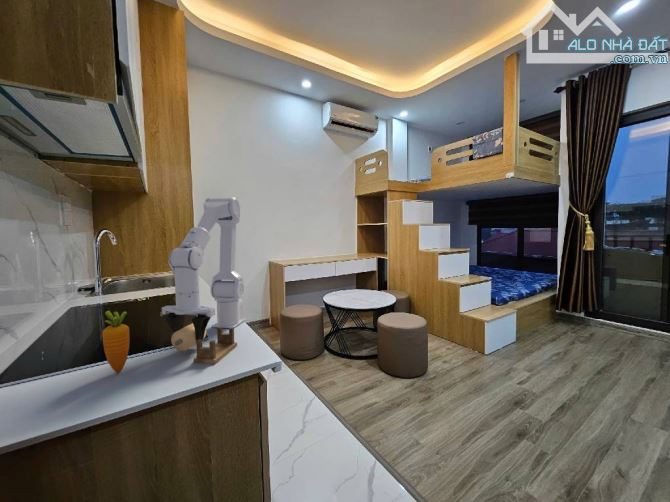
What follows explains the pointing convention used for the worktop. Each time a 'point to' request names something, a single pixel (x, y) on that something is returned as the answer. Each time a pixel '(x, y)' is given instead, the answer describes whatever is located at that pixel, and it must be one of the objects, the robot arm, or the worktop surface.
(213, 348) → the roll holder
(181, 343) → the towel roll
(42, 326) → the worktop surface
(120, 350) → the carrot
